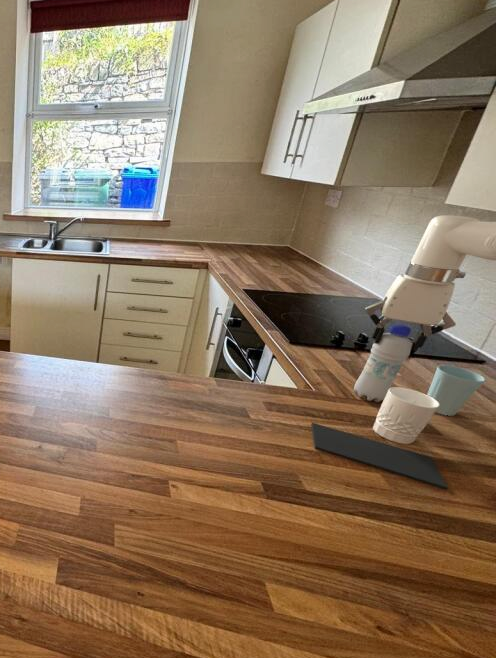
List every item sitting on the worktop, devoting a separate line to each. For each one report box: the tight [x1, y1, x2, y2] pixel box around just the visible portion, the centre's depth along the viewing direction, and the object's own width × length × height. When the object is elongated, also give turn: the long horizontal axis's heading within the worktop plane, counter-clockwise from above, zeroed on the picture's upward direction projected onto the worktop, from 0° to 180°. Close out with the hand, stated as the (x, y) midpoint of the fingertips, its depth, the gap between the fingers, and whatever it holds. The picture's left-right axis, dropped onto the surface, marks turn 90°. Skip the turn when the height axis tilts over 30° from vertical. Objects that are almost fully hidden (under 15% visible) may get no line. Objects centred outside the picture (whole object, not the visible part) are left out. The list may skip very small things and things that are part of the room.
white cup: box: [372, 386, 440, 445], centre depth 87 cm, size 8×8×10 cm
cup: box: [426, 364, 486, 417], centre depth 97 cm, size 8×8×10 cm
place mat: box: [310, 422, 449, 491], centre depth 84 cm, size 20×10×1 cm, turn 57°
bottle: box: [353, 324, 413, 402], centre depth 99 cm, size 7×7×20 cm
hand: (393, 344), depth 97 cm, fingers closed on bottle, 6 cm apart
